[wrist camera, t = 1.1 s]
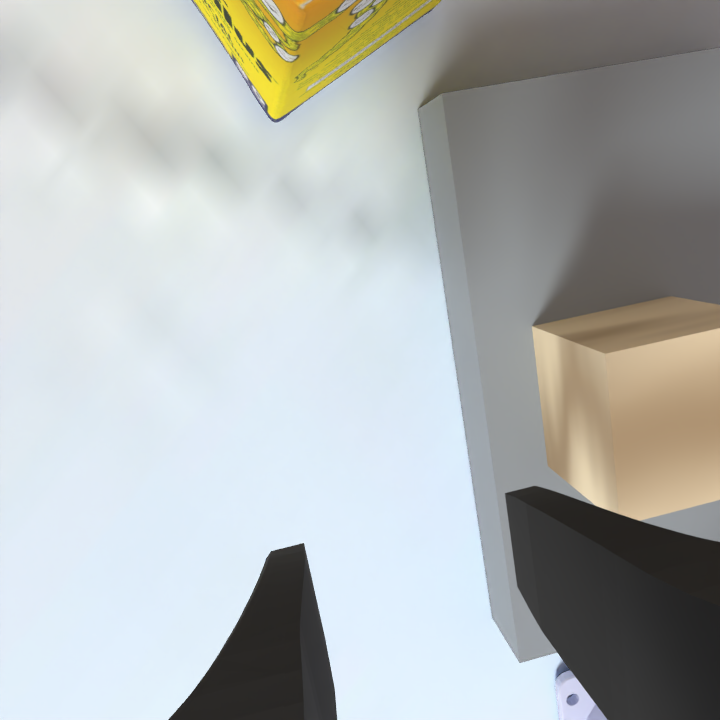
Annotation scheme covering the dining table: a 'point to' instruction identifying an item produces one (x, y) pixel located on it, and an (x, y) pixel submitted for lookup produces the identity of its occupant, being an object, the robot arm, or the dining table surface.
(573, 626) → the robot arm
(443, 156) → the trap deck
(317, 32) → the supplement box
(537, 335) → the maple block
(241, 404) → the dining table surface
